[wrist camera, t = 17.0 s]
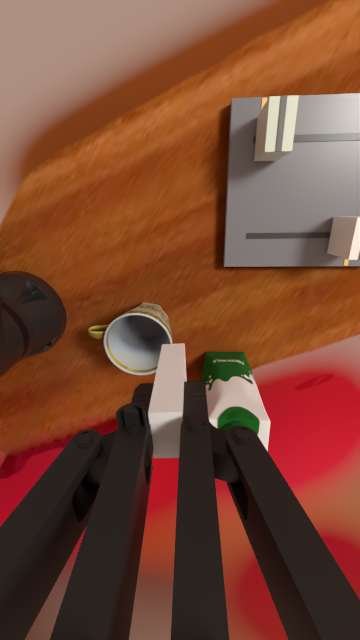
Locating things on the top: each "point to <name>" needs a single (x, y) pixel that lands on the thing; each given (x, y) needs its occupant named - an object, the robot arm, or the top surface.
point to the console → (292, 184)
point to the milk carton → (233, 394)
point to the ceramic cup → (135, 338)
